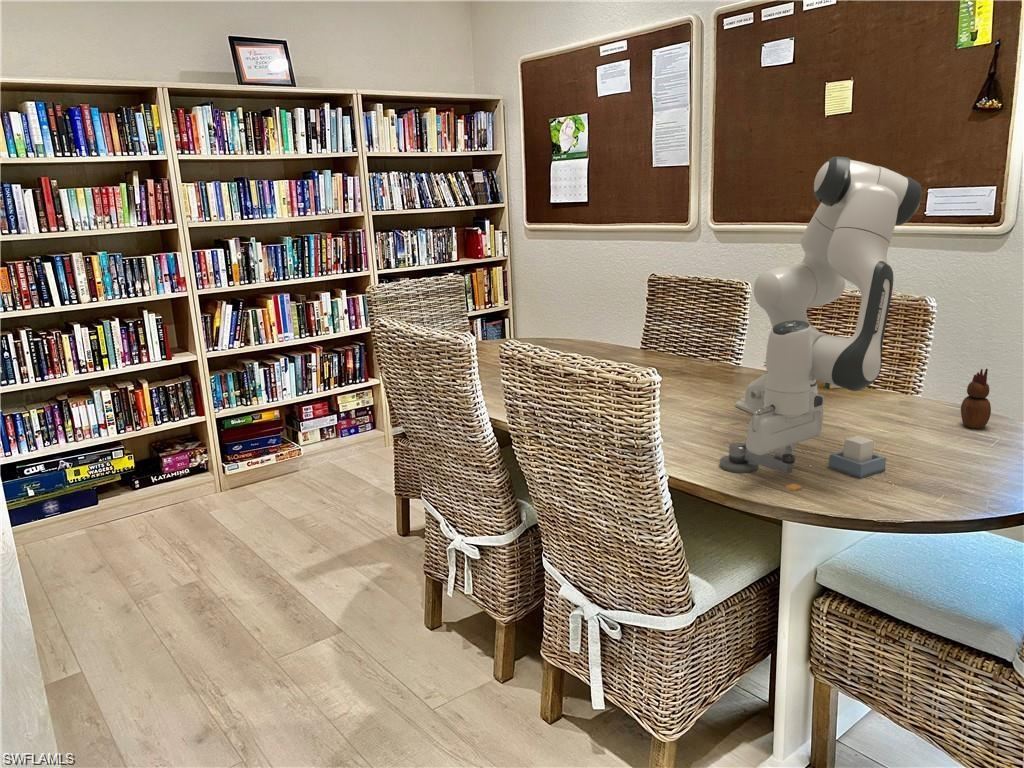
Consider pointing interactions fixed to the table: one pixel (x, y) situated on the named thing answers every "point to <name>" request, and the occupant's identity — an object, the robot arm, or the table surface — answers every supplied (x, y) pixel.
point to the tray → (857, 465)
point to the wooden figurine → (976, 402)
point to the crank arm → (761, 458)
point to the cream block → (858, 449)
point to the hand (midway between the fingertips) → (783, 465)
